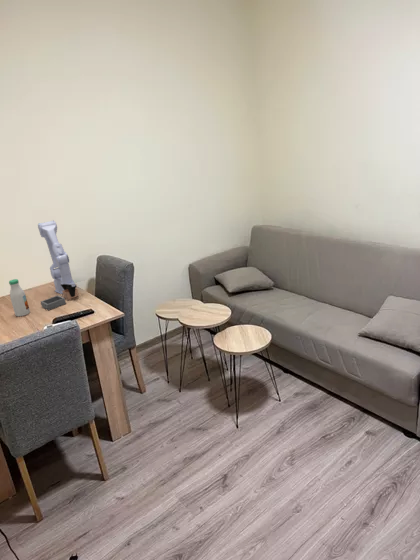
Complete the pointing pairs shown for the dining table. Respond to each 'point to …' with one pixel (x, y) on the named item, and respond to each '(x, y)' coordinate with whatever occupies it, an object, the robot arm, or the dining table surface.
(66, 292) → the small crate
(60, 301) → the large crate
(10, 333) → the dining table surface
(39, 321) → the dining table surface
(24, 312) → the milk bottle
